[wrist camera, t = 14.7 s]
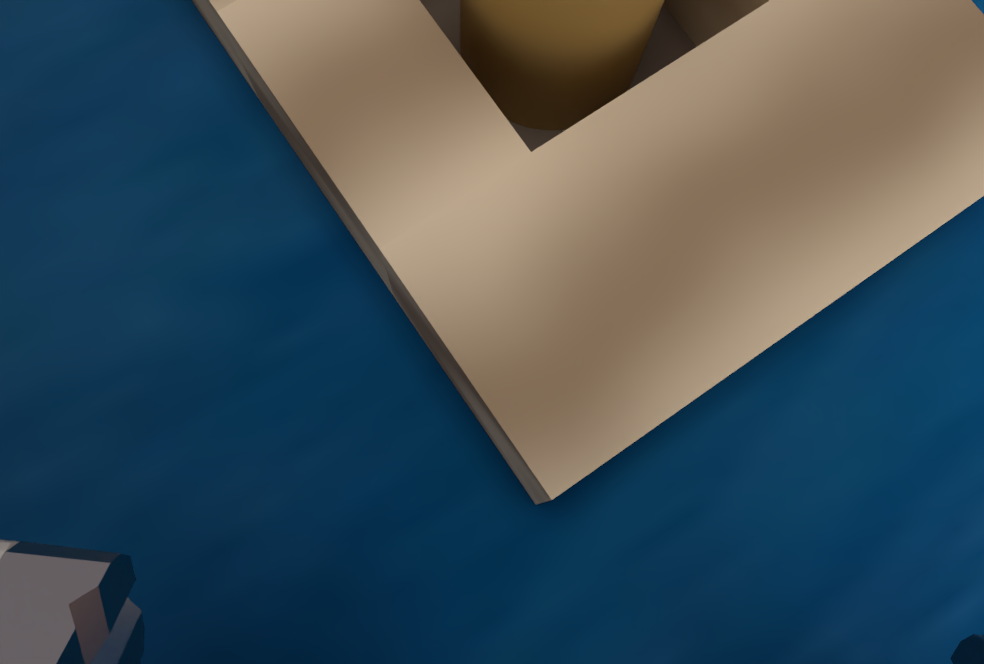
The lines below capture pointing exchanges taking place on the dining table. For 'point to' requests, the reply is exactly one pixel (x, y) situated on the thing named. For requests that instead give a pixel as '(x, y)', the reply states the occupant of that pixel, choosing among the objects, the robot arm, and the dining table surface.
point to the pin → (554, 54)
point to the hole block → (623, 192)
